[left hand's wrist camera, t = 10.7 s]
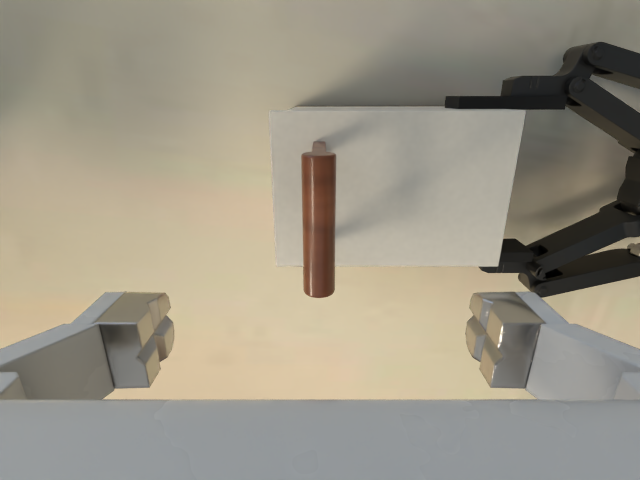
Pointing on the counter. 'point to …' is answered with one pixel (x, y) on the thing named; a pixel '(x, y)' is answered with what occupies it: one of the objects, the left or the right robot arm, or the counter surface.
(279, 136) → the lid
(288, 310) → the counter surface
